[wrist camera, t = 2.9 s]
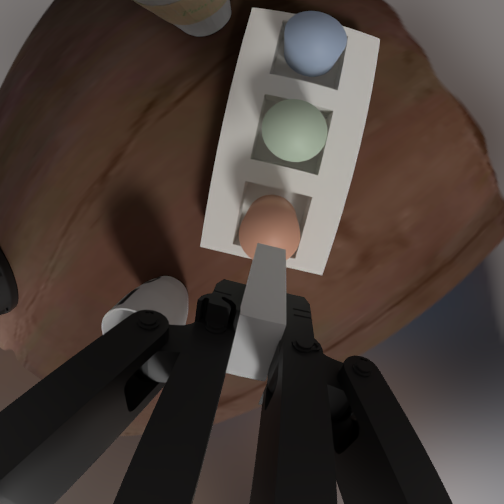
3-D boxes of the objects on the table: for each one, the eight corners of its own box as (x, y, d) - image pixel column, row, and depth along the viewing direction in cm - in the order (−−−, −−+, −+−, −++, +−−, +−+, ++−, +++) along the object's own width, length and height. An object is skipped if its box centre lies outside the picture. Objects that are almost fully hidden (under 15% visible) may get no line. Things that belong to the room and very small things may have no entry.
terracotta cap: (242, 236, 26) (233, 256, 21) (252, 189, 24) (245, 199, 20) (289, 248, 26) (291, 270, 21) (302, 201, 24) (307, 214, 20)
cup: (157, 251, 31) (114, 292, 22) (212, 290, 33) (188, 344, 23) (132, 296, 34) (94, 340, 25) (181, 330, 35) (155, 383, 26)
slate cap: (279, 70, 20) (278, 52, 16) (289, 29, 18) (290, 5, 14) (330, 82, 20) (341, 67, 15) (338, 41, 18) (350, 20, 14)
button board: (210, 234, 30) (200, 246, 26) (256, 23, 21) (252, 7, 17) (317, 259, 30) (322, 275, 26) (368, 51, 21) (380, 39, 17)
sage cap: (260, 152, 23) (255, 153, 19) (271, 103, 21) (269, 92, 17) (311, 165, 23) (319, 169, 18) (322, 116, 21) (333, 108, 17)
